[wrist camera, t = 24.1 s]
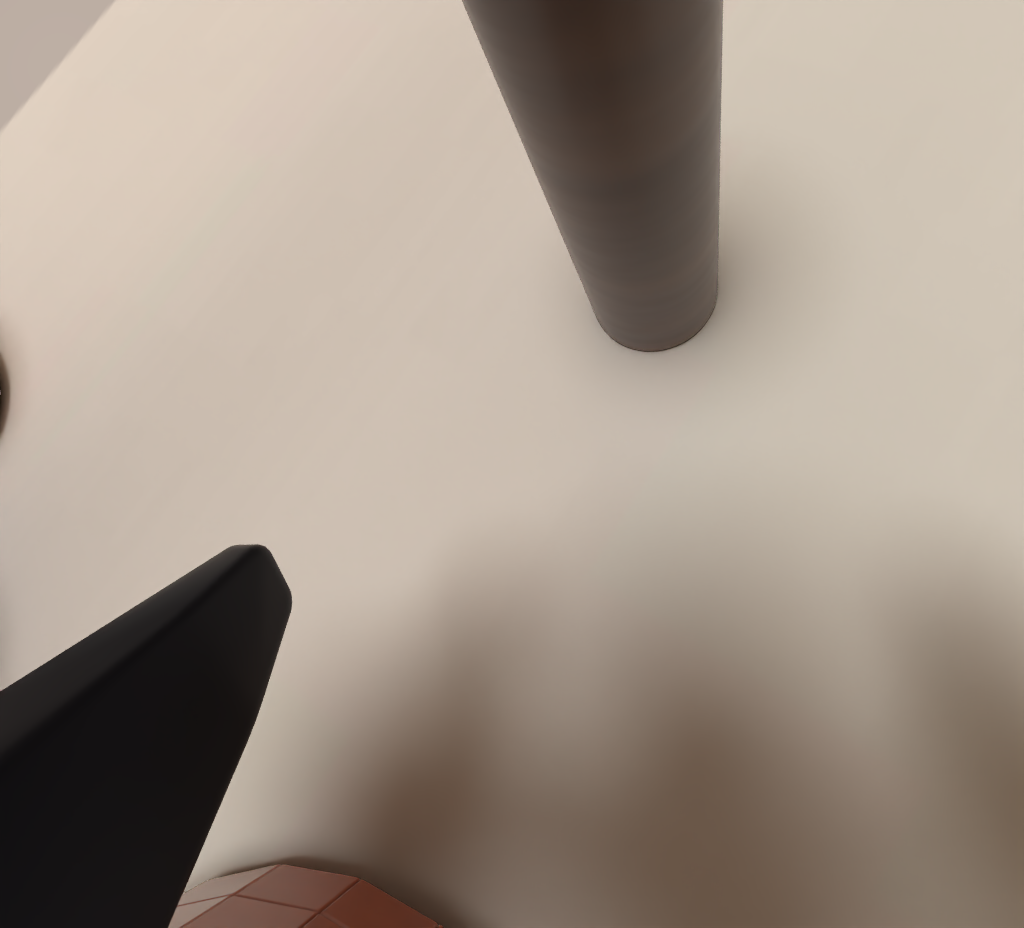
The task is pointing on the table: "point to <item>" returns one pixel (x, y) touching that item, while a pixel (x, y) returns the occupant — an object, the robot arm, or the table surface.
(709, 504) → the table surface
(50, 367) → the table surface
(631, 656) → the table surface
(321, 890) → the bowl
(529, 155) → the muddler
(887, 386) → the table surface
